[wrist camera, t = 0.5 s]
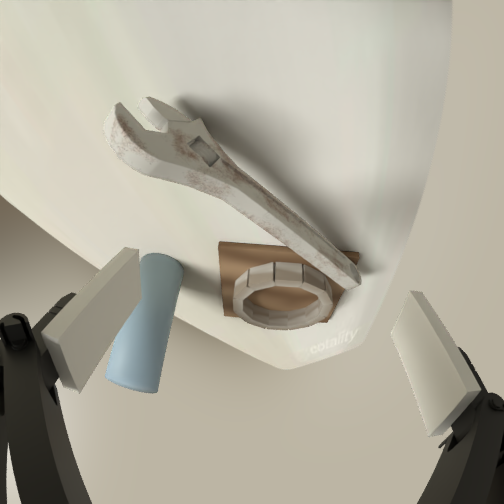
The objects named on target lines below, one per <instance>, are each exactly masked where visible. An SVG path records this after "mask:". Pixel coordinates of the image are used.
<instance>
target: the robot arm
mask: <svg viewBox="0 0 504 504" xmlns="http://www.w3.org/2000/svg"><path fill="white" fill-rule="evenodd" d="M141 299H142V293H141V279H140V262H139V249H133V248H127V247H125V248H123V249H122V250H121V251H120V252H119V253H118V254H117V255H116V256H115V257H114V258H113V259H112V260H111V261H110V262H109V263H107V264H106V265H105V266H104V267H103V268H102V269H101V270H100V271H99V272H98V273H97V274H96V275H95V276H94V277H93V278H92V279H91V280H90V281H89V282H88V283H87V284H86V285H85V286H84V287H83V288H82V289H81V290H80V291H79V292H78V293H77V294H75V293H70V294H68V295H66V296H64V297H63V298H61V299H60V300H59V301H58V302H57V303H56V304H55V306H54V307H52V308H51V309H50V310H49V313H48V312H47V313H46V314H45V316H43V318H42V319H41V320H40V321H39V322H38V323H37V324H36V325H35V326H34V327H33V328H32V329H31V327H30V324H29V321H28V318H27V317H26V316H25V315H24V314H21V313H12V314H9V315H6V316H5V317H4V318H2V319H1V320H0V338H1V340H0V504H7V493H6V470H7V469H6V468H7V449H8V443H9V449H10V455H11V461H12V466H13V471H14V476H15V481H16V485H17V489H18V493H19V497H20V500H21V504H92V502H91V500H90V497H89V495H88V493H87V490H86V488H85V485H84V483H83V480H82V478H81V475H80V472H79V469H78V466H77V463H76V460H75V457H74V455H73V451H72V448H71V444H70V441H69V438H68V434H67V430H66V427H65V423H64V419H63V415H62V410H61V406H60V401H59V397H58V392H57V388H56V386H55V382H56V381H57V379H58V378H60V380H61V382H62V385H63V387H65V388H67V389H69V390H72V391H74V392H77V393H79V394H80V392H81V391H82V389H83V387H84V386H85V384H86V382H87V381H88V379H89V378H90V376H91V374H92V373H93V371H94V369H95V368H96V366H97V365H98V363H99V362H100V360H101V359H102V357H103V355H104V354H105V352H106V351H107V349H108V348H109V346H110V345H111V343H112V341H113V340H114V338H115V337H116V335H117V334H118V332H119V331H120V329H121V328H122V326H123V325H124V323H125V322H126V320H127V319H128V318H129V316H130V315H131V313H132V312H133V310H134V309H135V307H136V306H137V304H138V303H139V302H140V300H141ZM391 337H392V339H393V341H394V344H395V346H396V349H397V351H398V354H399V356H400V359H401V361H402V364H403V366H404V369H405V371H406V374H407V377H408V379H409V382H410V385H411V387H412V390H413V393H414V395H415V398H416V401H417V404H418V407H419V409H420V413H421V416H422V419H423V422H424V425H425V428H426V431H427V434H428V437H430V436H436V435H442V434H443V433H444V432H445V431H446V430H447V429H448V428H449V427H450V426H451V427H452V430H453V432H452V433H451V434H450V435H449V436H448V437H447V438H446V439H445V440H444V441H443V442H442V443H441V444H440V445H439V448H441V447H442V446H443V445H444V444H445V447H444V449H443V452H442V454H441V457H440V459H439V461H438V463H437V466H436V468H435V470H434V472H433V474H432V476H431V478H430V480H429V482H428V484H427V486H426V488H425V490H424V492H423V494H422V496H421V497H420V499H419V501H418V503H417V504H504V400H503V399H502V398H501V397H500V396H499V395H497V394H495V393H488V392H487V390H486V388H485V386H484V384H483V383H482V381H481V379H480V377H479V375H478V373H477V372H476V371H475V368H474V366H473V365H472V364H471V361H470V360H469V358H468V356H467V354H466V353H465V352H464V351H463V350H462V349H461V348H460V347H457V346H456V344H455V342H454V341H453V339H452V337H451V336H450V334H449V332H448V331H447V329H446V328H445V326H444V324H443V323H442V321H441V320H440V318H439V317H438V315H437V314H436V312H435V311H434V309H433V308H432V306H431V305H430V303H429V302H428V300H427V299H426V297H425V296H424V294H423V293H422V292H418V291H409V293H408V296H407V298H406V301H405V303H404V305H403V307H402V310H401V312H400V314H399V317H398V319H397V321H396V323H395V325H394V328H393V330H392V332H391Z"/></svg>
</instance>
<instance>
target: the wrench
mask: <svg viewBox="0 0 504 504" xmlns="http://www.w3.org/2000/svg"><path fill="white" fill-rule="evenodd" d="M138 109H139V111H140V112H141V113H142V114H143V116H144V117H145V118H146V119H147V120H148V121H149V122H150V123H151V124H152V125H153V126H154V127H155V128H156V129H158V130H160V132H155V131H149V130H145V129H144V128H143V126H142V125H141V124H140V123H139V122H138V121H137V120H136V119H135V118H134V117H133V116H132V115H131V113H130V112H129V111H128V110H127V109H126V108H125V107H124V106H123V105H122V104H121V103H120V102H119V103H117V104H116V105H114V107H113V108H112V110H111V111H110V113H109V115H108V116H107V118H106V119H105V121H104V126H103V132H104V135H105V138H106V140H107V143H108V144H109V146H110V147H111V148H112V150H113V151H114V153H115V154H116V155H117V157H118V158H119V159H120V160H122V161H123V162H124V163H126V164H127V165H128V166H129V167H131V168H132V169H133V170H135V171H137V172H139V173H141V174H143V175H146V176H150V177H154V178H159V179H163V180H167V181H170V182H174V183H178V184H182V185H185V186H189V187H191V188H194V189H196V190H199V191H202V192H204V193H207V194H209V195H212V196H214V197H217V198H219V199H222V200H223V201H225V202H226V203H228V204H229V205H230V206H232V207H233V208H235V209H236V210H238V211H239V212H240V213H242V214H243V215H245V216H246V217H247V218H249V219H250V220H252V221H253V222H254V223H256V224H257V225H259V226H260V227H261V228H263V229H264V230H266V231H267V232H268V233H270V234H271V235H272V236H274V237H275V238H277V239H278V240H279V241H281V242H282V243H283V244H285V245H286V246H288V247H289V248H290V249H292V250H293V251H294V252H296V253H297V254H299V255H300V256H301V257H303V258H304V259H305V260H307V261H308V262H309V263H311V264H312V265H314V266H315V267H316V268H318V269H319V270H320V271H322V272H323V273H324V274H326V275H327V276H328V277H330V278H331V279H332V280H334V281H335V282H336V283H338V284H339V285H340V286H342V287H343V288H344V289H346V290H350V289H352V288H355V287H357V286H359V285H361V276H360V273H359V270H358V269H357V267H356V265H355V264H354V263H353V262H352V261H351V260H350V259H348V258H347V257H346V256H345V255H344V254H343V253H342V252H340V251H339V250H338V249H337V248H336V247H335V246H333V245H332V244H331V243H330V242H329V241H328V240H327V239H325V238H324V237H323V236H322V235H321V234H320V233H318V232H317V231H316V230H315V229H314V228H313V227H311V226H310V225H309V224H308V223H307V222H306V221H304V220H303V219H302V218H301V217H300V216H298V215H297V214H296V213H295V212H293V211H292V210H291V209H290V208H289V207H287V206H286V205H285V204H284V203H282V202H281V201H280V200H279V199H278V198H276V197H275V196H274V195H273V194H271V193H270V192H269V191H268V190H266V189H265V188H264V187H263V186H261V185H260V184H259V183H258V182H256V181H255V180H254V179H253V178H252V177H250V176H249V175H248V174H247V173H245V172H244V171H243V170H242V169H240V168H239V167H238V166H237V165H236V164H235V163H234V162H233V161H232V160H231V159H230V158H229V157H228V155H227V154H226V153H225V152H224V151H223V150H222V149H221V147H220V146H219V145H218V144H217V142H216V141H215V140H214V139H213V137H212V136H211V135H210V134H209V132H208V131H207V129H206V127H205V125H204V123H203V121H202V119H201V117H200V118H198V119H196V120H194V121H191V120H190V119H189V118H187V117H186V116H185V115H183V114H182V113H180V112H179V111H178V110H176V109H175V108H173V107H171V106H169V105H167V104H165V103H163V102H161V101H159V100H156V99H154V98H152V97H143V98H142V99H141V100H140V101H139V102H138Z"/></svg>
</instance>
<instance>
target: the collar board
mask: <svg viewBox="0 0 504 504" xmlns="http://www.w3.org/2000/svg"><path fill="white" fill-rule="evenodd" d="M218 251H219V264H220V276H221V287H222V298H223V309H224V316H229V317H240V318H241V319H243V320H244V321H245V322H247V323H249V324H252V325H255V326H258V327H261V328H264V329H265V328H267V329H274V330H288V329H289V330H293V329H299V328H304V327H309V325H310V326H312V325H314V324H316V323H317V322H322V323H327V322H328V320H329V318H330V316H331V314H332V313H333V311H334V309H335V307H336V305H337V303H338V301H339V299H340V297H341V295H342V293H343V291H344V288H343V287H342V286H340V285H339V284H338V283H336V282H335V281H334V280H332V279H331V278H330V277H328V276H327V275H326V274H324V273H323V272H322V271H320V270H319V269H318V268H316V267H315V266H314V265H312V264H311V263H309V262H308V261H307V260H305V259H304V258H303V257H301V256H300V255H299V254H297V253H296V252H294V251H293V250H292V249H290V248H289V247H285V246H272V245H259V244H245V243H232V242H219V245H218ZM340 252H342V253H343V254H344V255H345V256H346V257H347V258H348V259H350V260H351V261H352V262H353V263H354V264H355V265H357V262H358V260H359V258H360V257H359V252H347V251H340Z"/></svg>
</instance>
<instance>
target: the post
mask: <svg viewBox="0 0 504 504" xmlns="http://www.w3.org/2000/svg"><path fill="white" fill-rule="evenodd" d="M183 274H184V270H183V267H182V266H181V264H180V263H179V262H178V261H176V260H175V259H173V258H172V257H169V256H167V255H164V254H159V253H151V254H147V255H145V256H143V257H142V259H141V261H140V279H141V293H142V299H141V300H140V302H139V303H138V304H137V306H136V307H135V309H134V310H133V312H132V313H131V315H130V316H129V318H128V319H127V320H126V322H125V323H124V325H123V326H122V328H121V329H120V331H119V332H118V334H117V335H116V337H115V341H114V344H113V348H112V352H111V355H110V359H109V362H108V367H107V370H106V374H105V378H107V379H108V380H109V381H111V382H113V383H115V384H117V385H120V386H122V387H125V388H128V389H131V390H135V391H139V392H144V393H157V392H158V386H159V382H160V377H161V371H162V366H163V361H164V356H165V352H166V347H167V342H168V338H169V333H170V329H171V324H172V319H173V316H174V311H175V307H176V303H177V299H178V294H179V290H180V286H181V282H182V278H183Z"/></svg>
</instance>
